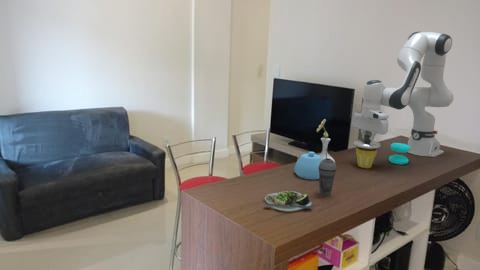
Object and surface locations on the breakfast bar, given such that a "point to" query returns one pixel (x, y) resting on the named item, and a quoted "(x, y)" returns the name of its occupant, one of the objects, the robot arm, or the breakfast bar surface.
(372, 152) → the plant pot
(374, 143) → the steel lid
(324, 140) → the flower in vase
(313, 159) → the sugar bowl
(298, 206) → the salad plate
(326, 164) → the beverage cup
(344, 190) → the breakfast bar surface
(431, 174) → the breakfast bar surface
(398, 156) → the donuts
